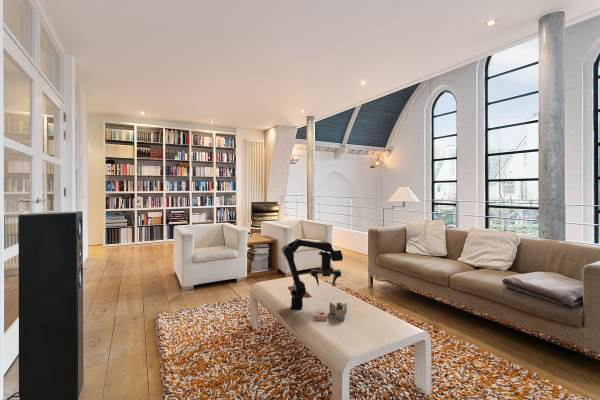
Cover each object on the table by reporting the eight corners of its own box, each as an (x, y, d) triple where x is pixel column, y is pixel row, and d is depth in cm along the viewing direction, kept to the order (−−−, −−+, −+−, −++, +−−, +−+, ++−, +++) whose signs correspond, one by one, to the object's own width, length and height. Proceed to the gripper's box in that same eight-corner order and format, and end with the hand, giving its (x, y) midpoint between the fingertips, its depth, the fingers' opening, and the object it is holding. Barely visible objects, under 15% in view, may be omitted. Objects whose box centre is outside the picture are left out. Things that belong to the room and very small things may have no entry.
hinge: (330, 320, 171) (330, 309, 170) (329, 312, 182) (329, 302, 181) (349, 320, 170) (349, 310, 170) (346, 312, 181) (346, 302, 181)
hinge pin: (336, 319, 171) (337, 304, 171) (336, 317, 175) (336, 302, 175) (343, 320, 171) (343, 305, 171) (342, 317, 175) (342, 302, 174)
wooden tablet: (312, 298, 207) (312, 295, 207) (298, 299, 203) (298, 297, 203) (298, 286, 232) (298, 283, 232) (285, 287, 228) (286, 285, 228)
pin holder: (316, 320, 170) (316, 315, 170) (316, 315, 176) (316, 311, 176) (327, 320, 170) (327, 316, 170) (326, 316, 176) (326, 311, 176)
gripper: (311, 264, 184) (310, 290, 185) (342, 265, 184) (341, 290, 184) (311, 260, 196) (310, 284, 196) (340, 260, 195) (339, 285, 196)
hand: (325, 286), depth 193 cm, fingers open, 9 cm apart
